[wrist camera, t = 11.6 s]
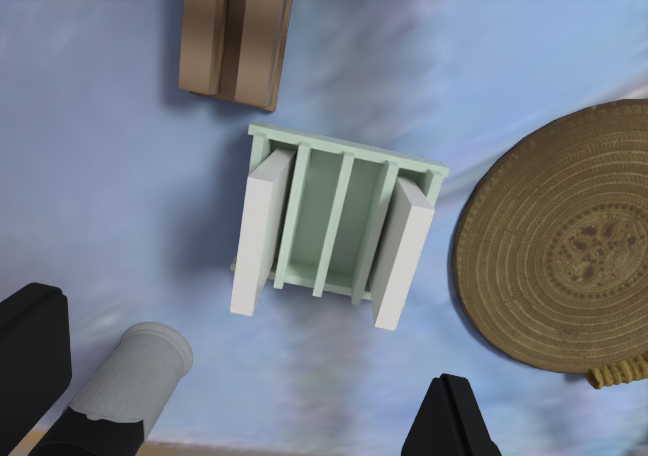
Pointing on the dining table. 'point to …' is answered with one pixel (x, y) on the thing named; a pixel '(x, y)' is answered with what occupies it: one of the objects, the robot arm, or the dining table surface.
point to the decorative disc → (564, 247)
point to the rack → (351, 217)
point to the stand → (234, 49)
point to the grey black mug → (121, 396)
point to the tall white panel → (261, 228)
